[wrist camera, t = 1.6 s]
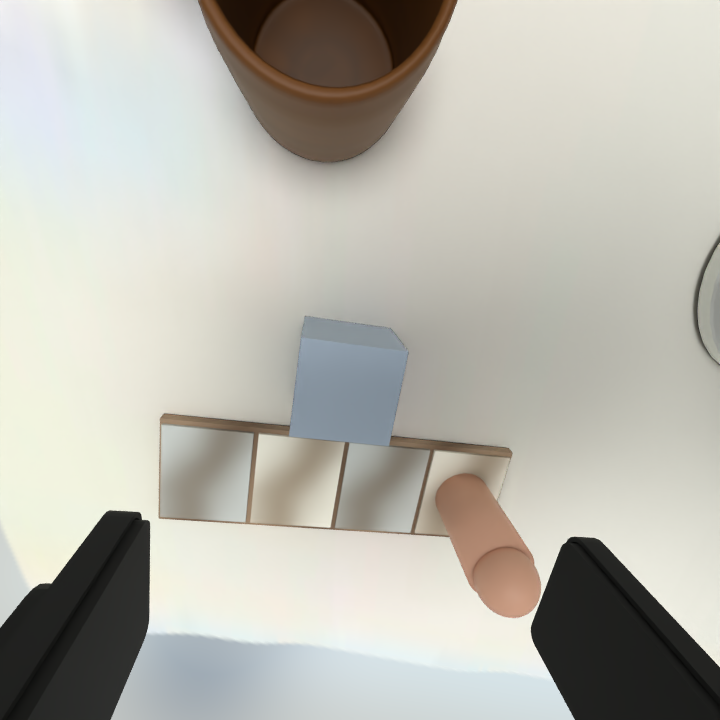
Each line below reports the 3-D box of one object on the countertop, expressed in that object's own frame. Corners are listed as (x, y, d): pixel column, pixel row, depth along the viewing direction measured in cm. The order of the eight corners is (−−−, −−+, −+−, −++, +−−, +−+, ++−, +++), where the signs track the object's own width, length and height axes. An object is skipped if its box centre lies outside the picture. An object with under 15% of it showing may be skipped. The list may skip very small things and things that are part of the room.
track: (508, 448, 26) (514, 454, 25) (482, 533, 28) (486, 541, 27) (164, 413, 23) (158, 419, 22) (162, 511, 25) (157, 520, 24)
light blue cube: (390, 327, 23) (408, 351, 18) (375, 405, 24) (388, 446, 19) (305, 315, 22) (301, 337, 17) (295, 396, 23) (288, 436, 19)
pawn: (493, 475, 26) (568, 580, 18) (480, 520, 27) (545, 638, 19) (442, 471, 25) (495, 576, 17) (430, 516, 26) (475, 636, 18)
